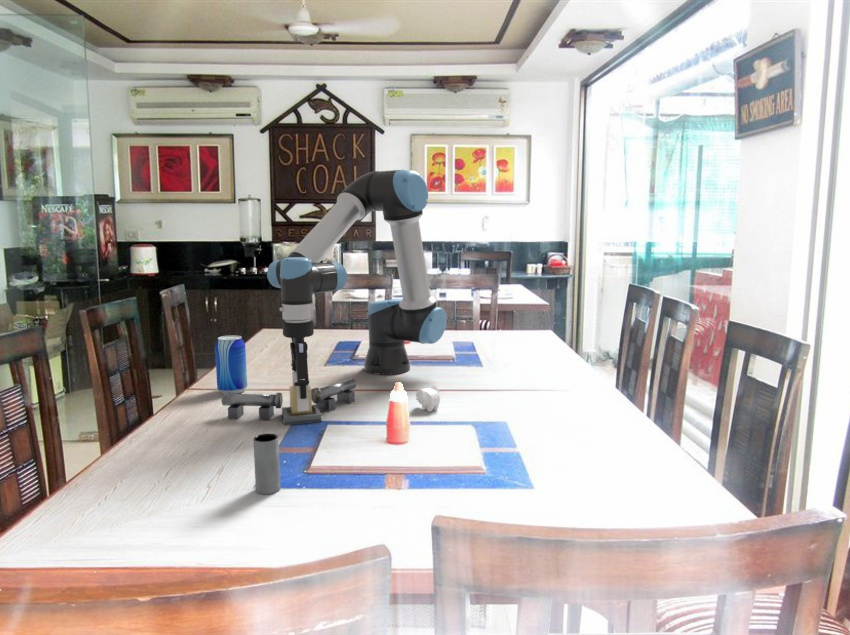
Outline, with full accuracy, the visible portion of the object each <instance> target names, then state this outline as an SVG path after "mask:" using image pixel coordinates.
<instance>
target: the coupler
mask: <svg viewBox="0 0 850 635" xmlns="http://www.w3.org/2000/svg"><path fill="white" fill-rule="evenodd" d="M288 388H289V407H290V413H291V416H299V415H311V414H312V405H313V401H312V395H311V390H312V388H311V386H310V384H308V390H309V411H300V412H298V407H297V386H293V385H291V386H290V385H289V387H288Z"/></svg>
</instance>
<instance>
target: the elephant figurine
mask: <svg viewBox="0 0 850 635" xmlns="http://www.w3.org/2000/svg"><path fill="white" fill-rule="evenodd" d="M439 393H440V391H439V388H438V387H437V386H435V385H433V384H432V385H431V386H430V387H425V388H419V389H418V390H417V392H416V394H415V397H416V399H415V401H417V402H418V404H420V405H421V408H422V411H427V412H433V411H436V410H438V408H439V406H440V401H441V398H440V395H439Z"/></svg>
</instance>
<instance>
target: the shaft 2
mask: <svg viewBox="0 0 850 635" xmlns="http://www.w3.org/2000/svg"><path fill="white" fill-rule="evenodd" d="M357 383H358V382H357V380H356V379H355V378H353V377H351V378H348V379H345V380H342V381H339V382H336V383H335V382H334V383H332V384H328V385H326V386H323V387H314V388H311V395H312V403H313V404H315V405H317V406H318V408H319V410H320V409H321V410H320V411H325V412H331V411H335V410H336V402H338V403H343V404H348V405H350V404H353V403H355V400H356V396H355V394H356V393H355V391H354V389H356V388H357V385H358V384H357ZM333 396H336V398H334V397H333Z"/></svg>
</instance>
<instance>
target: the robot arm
mask: <svg viewBox="0 0 850 635" xmlns="http://www.w3.org/2000/svg"><path fill="white" fill-rule="evenodd" d="M428 199H429V190H428V186H427V183H426V181H425V179H424V177H423V176H422V175H421V174H419V173H418V172H417V171H415V170H413V169H411V170H410V169H409V170H408V169H407V170H406V169H395V170H394V169H393V170H381V171H380V170H379V171H378V170H376V171H370V172H366V173H365V174H363V175H361V176H359V177H357V178H355V180H353V181H351V183H350V184H348V185H347V186H346V187H345V188H344V189H343V190H342V191H341V192H340V193H339V195H337V197H336V203H335V204H334V205H333V207H331V209H329V211H328V212H327V213H325V215H324V216H323V217H322V218H321V219H320V220H319V221H318V222H317V223H316V225H315V226H314V227H313V228H312V229H311V230H310V231H309V232H308V233H307V235H306V236H305V237H304V238H303V239H302V240H301V241H300V243H298V245H297V246H296V247H295V248H293V250H292V251H291V252H290V253H289V255H287V256H286V257H284V258H282V259H279V260H274V261H273V262H271V263H270V264H269V266H268V268H267V272H266V274H267V275H266V276H267V280H268V282H269V284H270V285H272V287H275V288H276V289H277V288H278V289H280V291H281V292H280V294H281V307H279V311H280V312H281V313H282V314H281V315H282V320H283V322H282V335H283V337H285V338H287V339H290V340H291V342H289V343H290V344H289V346H290V353H291V354H290V355H291V364H290V366H291V370H292V372H291V374H292V376H291V378H292V386H297V407H298V412H300V411H309V390H308V385H310V380H309V379H310V378H309V368H308V367H309V365H308V347H309V346H308V343H307V341H305V338H309V337H312V336H313V335H314V333H315V332H314V320H313V318H314V302H313V295H315V294H323V293H329V292H330V293H334V292H336V291H340V290H342V289H343V288H344V287H345V286H346V284H347V282H348V272H347V270H346V268H345V267H344V265H343V264H342V263H340V262H337V261H336V262H335V261H334V262H333V261H327V262H321V261H323V259H324V258H325V257H326V256H327V255H328V253H329V252H330V251H331V250H332V249H333V247H334V246H335V245H336V244H337V243H338V242H339V241H340V239H342V237H343V236H344V235H345V234H346V233H347V231H348V230H349V229H350V228H351V227H352V226H353V224H355V222H357V221H361V220H363V219H364V217H365V216H366V215H367V214H370V213H372V212H382V214H383V216H382V217H383V221H384V222H386V223H388V225H390V231H391V237H392V242H393V250H394V255H395V260H396V266H397V271H398V277H399V278H398V279H399V284H400V288H401V289H400V290H401V295H402V298H392V299H385V300H384V299H383V300H378V301H372V302H370V304H369V305H368V314H367V317H368V319H367V320H368V349H367V352H366V356H365V360H364V363H363V366H364V367H363V370H364V371H365V372H366V373H369V374H374V375H397V374H403V373H407V372H409V371H410V370H411V361H410V358H409V355H408V352H407V350H406V347H405V342H408V343H409V342H410V343H416V344H417V343H418V344H420V345H425V344H427V345H429V344H430V345H433V344H436V343H437V342H439V340H441V339H442V337H443V335H444V333H445V330H446V327H447V314H446V311H445V310H444V308H442V307H440V306H438V304H437V299H436V297H435V296H434V295H432V294H431V291H430V284H429V278H428V272H427V270H428V269H427V265H426V260H425V259H426V258H425V252H424V247H423V239H422V232H421V227H420V219H421V217H422V216H423V214H424V213H423V210H424V209H426V207H427V204H428Z"/></svg>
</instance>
